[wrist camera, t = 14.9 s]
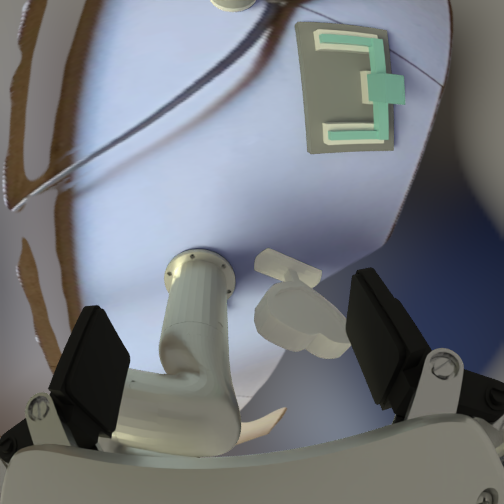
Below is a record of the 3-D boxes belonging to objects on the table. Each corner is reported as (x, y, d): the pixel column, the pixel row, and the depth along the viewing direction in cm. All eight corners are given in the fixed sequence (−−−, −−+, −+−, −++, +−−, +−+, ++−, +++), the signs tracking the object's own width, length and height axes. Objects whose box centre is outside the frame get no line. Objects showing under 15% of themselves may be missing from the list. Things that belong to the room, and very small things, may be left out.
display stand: (387, 147, 41) (400, 153, 38) (307, 151, 41) (315, 157, 37) (380, 32, 31) (393, 28, 27) (294, 25, 30) (301, 18, 27)
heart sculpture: (330, 274, 53) (365, 345, 37) (315, 293, 55) (343, 366, 40) (258, 243, 48) (274, 319, 33) (244, 266, 50) (253, 345, 35)
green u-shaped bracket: (387, 137, 36) (405, 144, 32) (328, 139, 36) (341, 145, 32) (381, 41, 28) (399, 37, 24) (318, 35, 28) (331, 28, 24)
